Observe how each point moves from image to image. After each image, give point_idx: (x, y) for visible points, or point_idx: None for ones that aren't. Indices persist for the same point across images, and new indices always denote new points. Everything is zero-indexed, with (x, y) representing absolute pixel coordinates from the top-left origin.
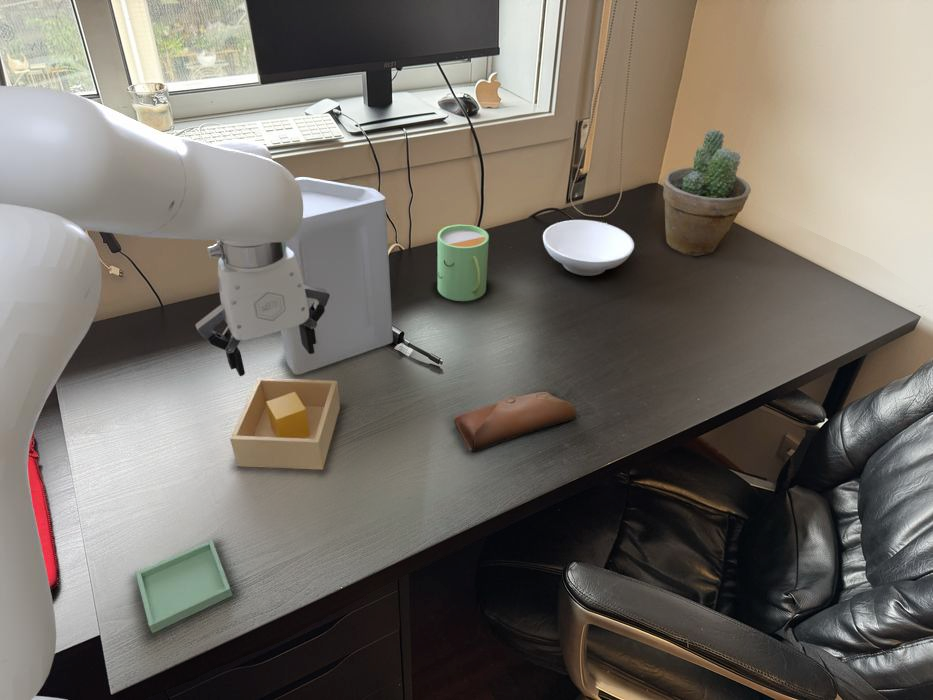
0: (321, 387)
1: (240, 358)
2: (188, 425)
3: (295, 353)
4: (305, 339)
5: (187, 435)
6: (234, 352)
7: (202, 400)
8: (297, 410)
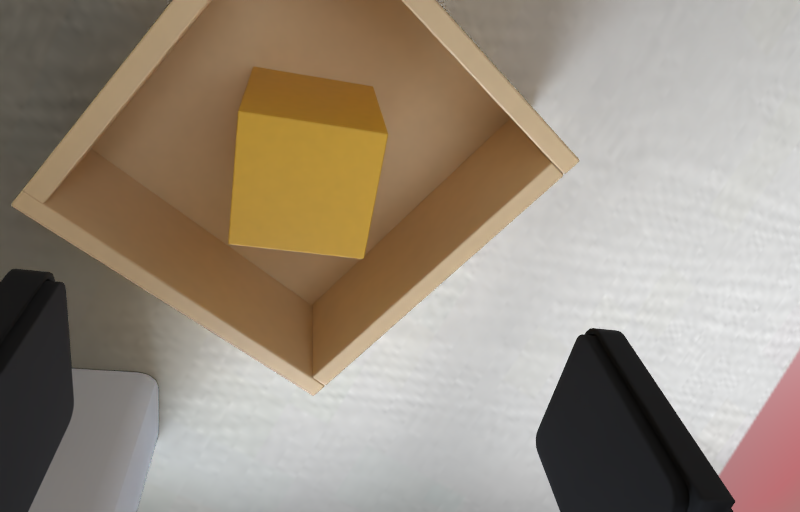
0: (100, 222)
1: (657, 440)
2: (531, 352)
3: (118, 445)
4: (15, 405)
5: (556, 320)
6: (725, 510)
7: (448, 416)
8: (277, 128)
